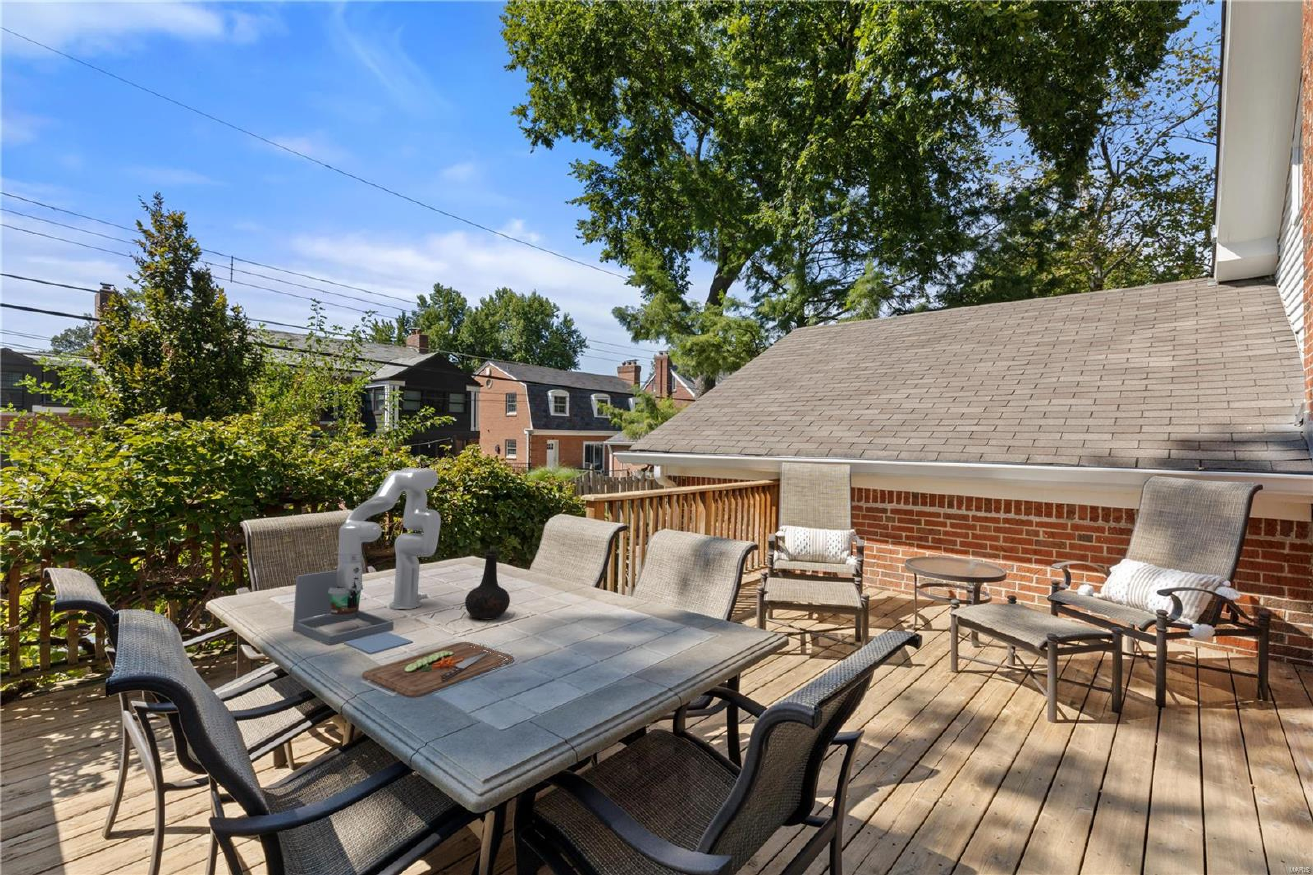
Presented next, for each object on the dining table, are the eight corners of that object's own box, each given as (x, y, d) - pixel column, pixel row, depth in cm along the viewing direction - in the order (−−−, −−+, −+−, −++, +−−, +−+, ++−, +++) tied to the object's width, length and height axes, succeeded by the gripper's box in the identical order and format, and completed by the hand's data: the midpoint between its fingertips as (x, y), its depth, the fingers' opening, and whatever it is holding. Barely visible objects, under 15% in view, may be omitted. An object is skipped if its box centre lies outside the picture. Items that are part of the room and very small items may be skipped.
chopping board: (470, 642, 213) (470, 634, 213) (523, 659, 199) (523, 650, 199) (350, 679, 175) (350, 669, 175) (404, 704, 161) (405, 692, 161)
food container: (335, 618, 212) (336, 590, 212) (327, 614, 215) (328, 587, 215) (368, 610, 222) (369, 584, 222) (360, 607, 225) (361, 581, 226)
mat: (386, 633, 217) (386, 631, 217) (412, 642, 208) (412, 641, 208) (343, 643, 204) (343, 642, 204) (370, 654, 195) (370, 652, 195)
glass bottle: (455, 619, 238) (459, 550, 239) (480, 608, 256) (484, 544, 256) (493, 625, 233) (497, 555, 234) (516, 614, 250) (520, 548, 251)
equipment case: (356, 616, 235) (359, 566, 236) (393, 629, 222) (396, 576, 222) (292, 630, 215) (296, 575, 215) (329, 645, 201) (333, 587, 202)
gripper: (372, 559, 217) (370, 608, 217) (346, 553, 227) (344, 599, 227) (352, 562, 211) (350, 613, 211) (327, 555, 220) (325, 603, 220)
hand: (347, 605), depth 219 cm, fingers closed on food container, 5 cm apart
